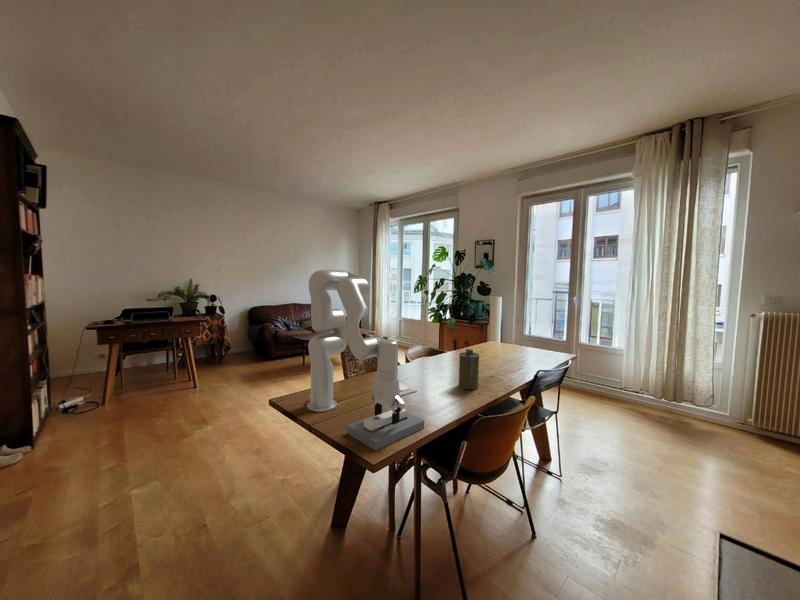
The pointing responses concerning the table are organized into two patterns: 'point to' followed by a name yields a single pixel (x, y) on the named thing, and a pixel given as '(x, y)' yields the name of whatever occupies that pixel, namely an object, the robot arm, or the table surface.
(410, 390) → the light switch
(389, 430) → the mounting board
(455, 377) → the table surface
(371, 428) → the off-white connector bar
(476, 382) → the canister
